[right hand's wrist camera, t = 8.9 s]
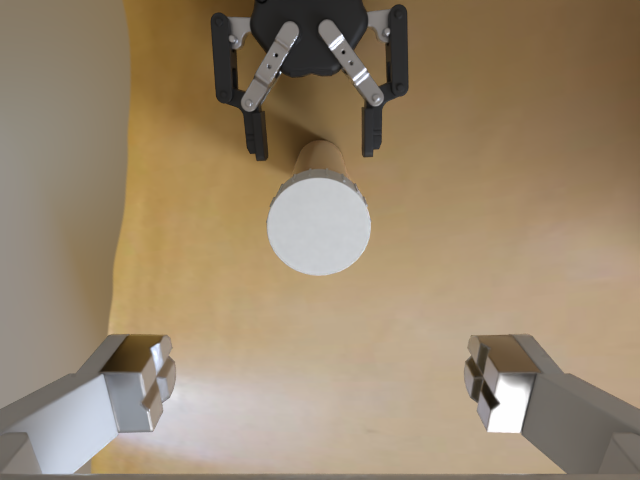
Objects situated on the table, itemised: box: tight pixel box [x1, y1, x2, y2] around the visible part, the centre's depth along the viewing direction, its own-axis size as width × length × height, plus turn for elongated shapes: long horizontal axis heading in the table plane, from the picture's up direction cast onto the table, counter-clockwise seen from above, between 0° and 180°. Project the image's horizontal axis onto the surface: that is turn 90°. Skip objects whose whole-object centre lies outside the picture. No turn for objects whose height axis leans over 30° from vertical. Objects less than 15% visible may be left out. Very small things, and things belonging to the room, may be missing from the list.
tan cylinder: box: [291, 140, 350, 180], centre depth 29 cm, size 4×4×19 cm
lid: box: [266, 168, 371, 275], centre depth 21 cm, size 6×6×2 cm
